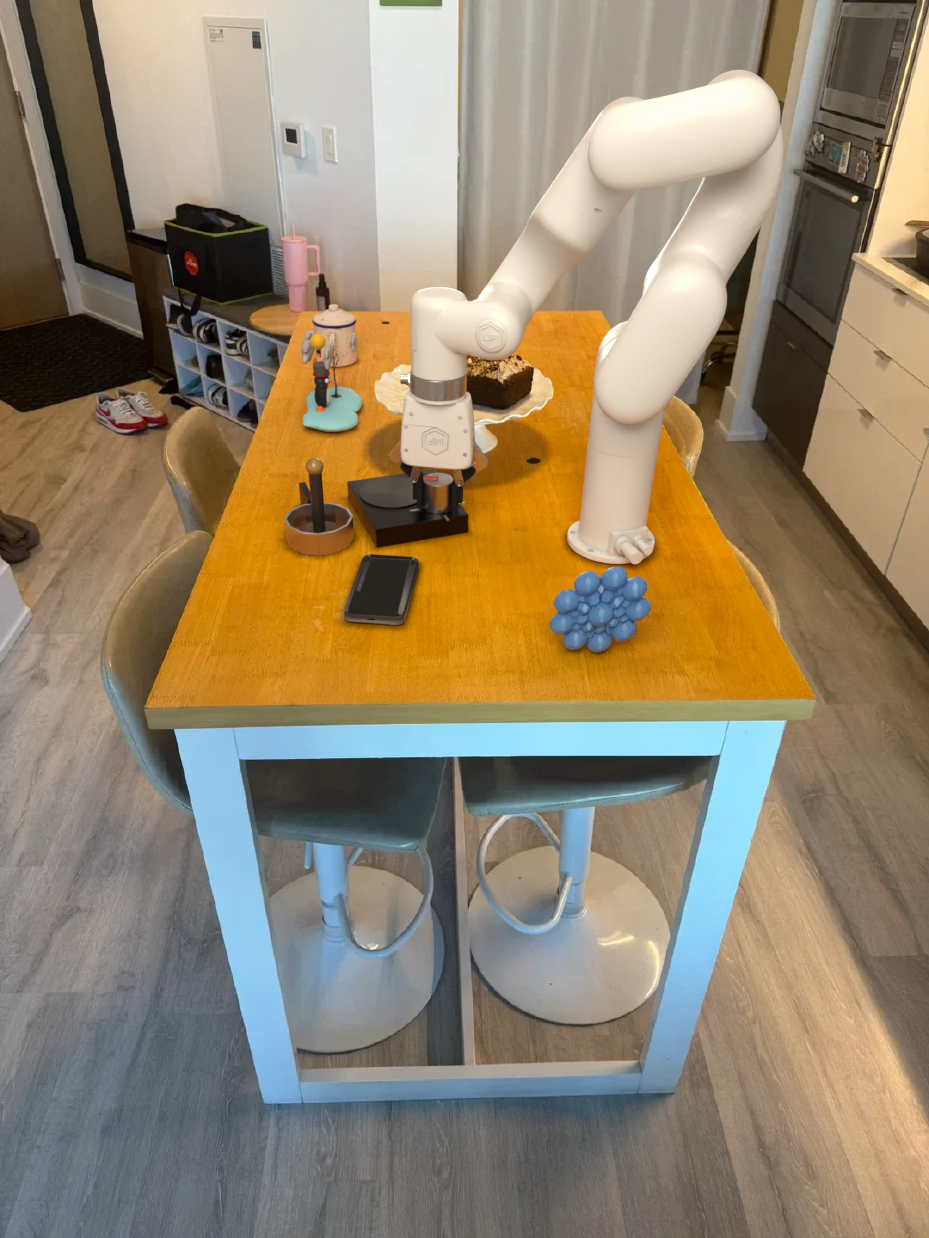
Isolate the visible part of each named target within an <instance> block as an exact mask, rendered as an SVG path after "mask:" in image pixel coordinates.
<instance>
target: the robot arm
mask: <svg viewBox="0 0 929 1238" xmlns="http://www.w3.org/2000/svg"><path fill="white" fill-rule="evenodd" d="M781 114H782V113H781V106H780V102H779V99H778V96H777V94H776V93H775V92H774V89H773V88H772V87H771V85H769V84H768V83H767V82H766V81H765V80H764V79H763V78H762V77H761V76H759V75H757V73H754V72H752V71H749V70H747V69H731V70H728V71H725V72H722V73H720V74H719V75H717V76H715V77H714V78H713V79H712V80H710V81H708V83H707V85H703V86H699V87H696V88H692V89H687V90H683V91H679V92H676V93H671V94H667V95H662V96H658V97H653V98H650V99H648V98H647V99H644V98H640V97H637V96H622V97H619V98H617V99H614V100H613V101H610V103H609V104H607V105H606V106H605V107H604V108H603V109H602V110H601V112H599V114H598V115H597V117H596V118H595V119H594V121H593V123H591V125H590V127H589V128H588V130H587V132H586V133H585V134H584V135H583V137H582V138H581V140H580V142H578V145H577V146H576V147H575V148H574V150H573V152H572V153H571V155H570V156H569V157H568V159H567V161H566V162H565V164H564V165H563V167H561V170H560V171H559V172H558V174H557V175H556V177H555V178H554V180H553V181H552V183H551V184H550V186H549V187H548V188H547V190H546V191H545V193H544V194H543V195H542V197H541V198H540V200H539V201H538V203H537V204H536V206H535V207H534V209H533V211H532V212H531V214H530V216H529V218H528V220H527V223H526V225H525V227H524V229H523V231H522V232H521V233H520V235H519V237H518V239H517V240H516V241H515V243H514V244H513V246H512V248H511V249H510V251H508V253H507V255H506V257H504V259H503V260H502V262H501V264H500V265H499V266H498V267H497V269H496V271H495V272H494V273H493V275H492V277H491V278H490V280H488V282H487V284H486V285H485V287H484V288H483V290H482V291H481V292H480V294H479V295H478V297H477V298H476V299H474V300H468V298H467V296H466V295H465V294H464V292H462V291H460V290H458V289H455V288H452V287H444V286H443V287H442V286H433V287H425V288H422V289H419V290H417V291H416V292H415V293H414V294H413V295H412V296H411V299H410V304H409V305H410V306H409V307H410V308H409V315H410V316H409V317H410V318H409V320H410V322H409V323H410V324H409V327H410V371H409V372H407V373H401V374H400V379H399V381H400V382H399V383H400V384H401V385H406V386H408V388H409V389H408V391H407V392H406V393H405V395H404V399H403V406H402V414H401V427H400V439H399V441H398V442H397V443H396V444H395V446H394V447H393V448H392V449H391V451H390V452H389V454H388V458H387V459H388V460H389V461H390V462H391V463H393V464H394V465H396V466H397V467H399V468H400V470H401V471H402V472H403V473H405V474H406V475H407V476H408V477H409V478H410V481H411V482H413V499H414V500H417V508H421V507H422V505H423V476H424V474H423V473H422V472H421V471H423V468H425V469H436V470H437V469H439V470H452V475H453V485H452V503H451V510H453V511H456V510H457V507H458V504H459V503H462V502H464V484H465V483H466V482H467V481H468V480H470V479H471V478H472V477H473V476H475V474H478V473H480V472H481V471H483V470H484V469H486V468H488V466H489V459H488V458H487V456H486V454H485V453H484V452H483V451H482V449H481V448H480V446H479V444H478V443H477V442H476V432H475V431H476V430H475V416H474V413H475V412H474V406H473V399H472V396H471V393H470V392H469V391H467V379H468V378H467V377H468V372H467V371H468V356H470V357H474V358H477V359H481V360H487V361H501V360H504V359H507V358H509V357H511V356H512V355H513V354H515V353H516V351H517V350H518V349H519V347H520V346H521V344H522V341H523V339H524V336H525V333H526V331H527V329H528V328H527V327H528V325H529V323H530V322H531V320H532V319H533V317H534V316H535V314H536V313H537V311H538V310H539V308H540V307H541V306H542V304H543V303H544V302H545V300H546V299H547V297H548V296H549V295H550V293H551V292H552V291H553V289H554V288H555V287H556V285H557V284H558V283H559V281H560V280H561V279H562V278H563V277H564V276H565V274H566V273H567V272H569V270H571V268H573V267H574V266H575V265H576V264H578V263H580V262H582V261H583V260H585V259H586V258H587V257H588V256H589V255H590V253H592V252H593V250H594V249H595V248H596V246H597V245H598V244H599V242H600V241H601V239H602V238H603V237H604V235H606V233H607V232H608V230H610V229H609V228H610V227H611V226H612V224H614V222H615V220H616V219H617V218H618V216H619V215H620V214H621V213H622V211H623V209H624V208H625V207H626V206H627V204H628V203H629V201H630V200H631V199H632V198H633V197H634V195H635V194H636V193H637V191H638V192H639V191H645V190H650V189H657V188H661V187H667V186H671V185H675V184H680V183H684V182H685V183H686V182H689V181H694V180H698V179H702V180H701V182H700V184H699V186H698V188H697V190H696V192H695V194H694V196H693V197H692V199H691V201H690V203H689V204H688V207H687V208H686V210H685V212H684V214H683V216H682V217H681V219H680V220H679V222H678V224H677V226H676V227H675V229H674V230H673V232H672V233H671V235H670V236H669V238H668V240H667V241H666V243H665V245H664V246H663V248H662V249H661V251H660V253H659V254H658V255H657V257H656V258H655V259H654V261H653V262H652V264H651V265H650V266H649V268H648V270H647V272H646V274H645V277H644V280H643V286H642V295H641V298H640V299H639V300H638V302H637V305H636V306H635V308H634V309H633V311H632V313H631V314H630V316H629V318H628V319H627V320H625V321H623V322H620V323H618V324H616V325H615V326H614V327H612V328H611V329H610V330H609V331H608V332H607V333H606V334H605V335H604V336H603V339H602V340H601V342H600V344H599V347H598V349H597V353H596V358H595V364H594V365H595V366H594V374H593V393H592V403H591V413H590V421H589V432H588V439H587V448H586V457H585V466H584V476H583V483H582V484H583V486H582V494H581V503H580V512H579V520H577V521H575V522H573V523H572V524H571V525H570V527H569V528H568V530H567V534H566V541H567V544H568V546H569V547H570V549H572V550H573V551H574V553H576V554H578V555H579V556H580V557H583V558H586V559H588V560H590V561H593V562H597V563H601V564H610V565H625V564H632V565H638V564H639V563H641V562H642V561H643V560H644V559H646V558H648V557H649V556H650V555H651V554H652V553H653V552H654V549H655V543H656V539H655V536H654V534H653V532H652V531H651V530H650V529H649V527H648V526H647V524H648V519H649V511H650V504H651V499H652V493H653V492H652V491H653V486H654V478H655V472H656V467H657V460H658V453H659V448H660V443H661V436H662V429H663V423H664V416H665V408H666V407H667V406H668V404H669V403H670V402H671V401H672V399H673V398H674V396H675V395H676V393H677V392H678V390H679V389H680V388H681V386H682V385H683V383H684V382H685V381H686V379H687V378H688V376H689V374H690V373H691V372H692V370H693V369H694V367H695V366H696V365H697V363H698V361H699V360H700V359H701V357H702V356H703V355H704V353H705V351H706V350H707V349H708V347H709V346H710V344H711V342H712V341H713V339H714V337H715V336H716V334H717V332H719V331H718V330H719V329H720V326H721V324H722V322H723V320H724V318H725V315H726V310H727V306H728V305H727V304H728V292H727V291H728V290H727V284H728V281H729V280H730V278H731V277H732V275H733V273H734V272H735V270H736V268H737V266H738V265H739V264H740V262H741V260H742V259H743V257H744V255H745V254H746V252H747V250H748V249H749V247H750V245H751V243H752V242H753V240H754V239H755V237H756V236H757V234H758V233H759V230H760V229H761V227H762V226H763V224H764V222H765V221H766V218H767V217H768V214H769V213H770V211H771V208H772V206H773V205H774V202H775V200H776V197H777V194H778V191H779V187H780V184H781V179H782V174H783V166H784V151H785V150H784V149H785V148H784V134H783V129H782V124H781V118H782V117H781V116H782V115H781ZM473 460H474V461H473Z"/></svg>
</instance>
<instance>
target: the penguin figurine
mask: <svg viewBox="0 0 929 1238" xmlns="http://www.w3.org/2000/svg"><path fill="white" fill-rule="evenodd" d="M330 335H332V334H330ZM331 337H332V336H331ZM337 338H338V337H337ZM330 342H331V341H330ZM330 342H329V343H327V345H326V347H325V351H324V360H325V362H324V361H319V362H317V361H315V362H313V363H312V369H313V373H312V376H313V377H314V379H313V382H314V385H315V387H314V390H312V391H310V393H308V394H307V396H306V399H305V404H306V406H307V407H306V412H305V413H304V415H302V425H303V426H304V427H307V428H310V429H314V430H318V431H321V432H322V431H323V432H329V433H336V432H337V433H339V432H344V431H348V430H351V429H353V428H355V427H356V426H357V425H358V424H359V417H358V413H357V412H359V411H360V410H361V408H362V406H363V398H362V397H361V395H360V394H359V393H357V392H356V391H355V388H354V390H353V389H352V388H349V387H343V386H342V384H340V383H338V382H337V378H336V369H337V368H339V367H338V364H337V363H338V361H339V357H338V361H337V363H336V364H335V361H336V360H334V358H335V357H336V356H335V357H334V351H335V350H334V345H333V346H332V344H333V343H332V342H333V340H332V342H331V343H332V344H331V343H330ZM325 343H326V339H325V338H324V336H323V335H321V334H314V330H307V331H305V333H304V338H303V339H302V341H301V346H300V349H301V350H300V351H301V361H302V363H303V364H304V365H307V364H308V363H310V362H311V361H312V359H313V356H314V354H315V352H316V349H318V350H319V349H322V348H323V347H324V346H325ZM357 346H358V336H357V333H356V334H355V333H353V334H352V337H351V351H352V352H355V349H356V350H357ZM337 347H338V346H337ZM332 360H333V361H332ZM332 362H334V363H333V367H332V373H333V379H332V376H331V372H330V369H331V367H330V366H331V363H332ZM341 362H342V361H341ZM334 365H335V367H334ZM336 365H337V367H336ZM340 365H341V364H340ZM310 382H312V379H310ZM329 384H333V385H334V386H331V387H329ZM351 385H354V379H352V383H351Z"/></svg>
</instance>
